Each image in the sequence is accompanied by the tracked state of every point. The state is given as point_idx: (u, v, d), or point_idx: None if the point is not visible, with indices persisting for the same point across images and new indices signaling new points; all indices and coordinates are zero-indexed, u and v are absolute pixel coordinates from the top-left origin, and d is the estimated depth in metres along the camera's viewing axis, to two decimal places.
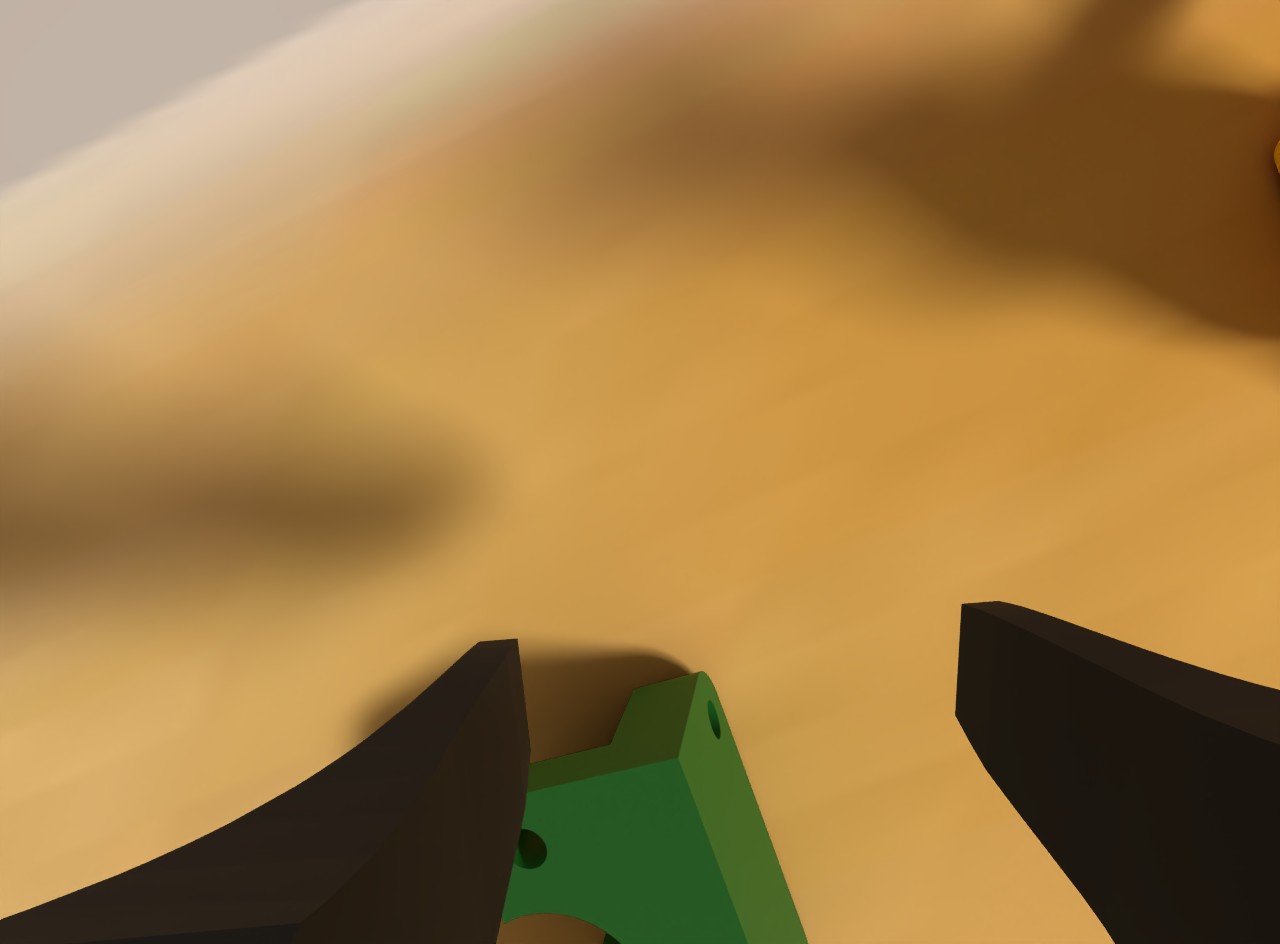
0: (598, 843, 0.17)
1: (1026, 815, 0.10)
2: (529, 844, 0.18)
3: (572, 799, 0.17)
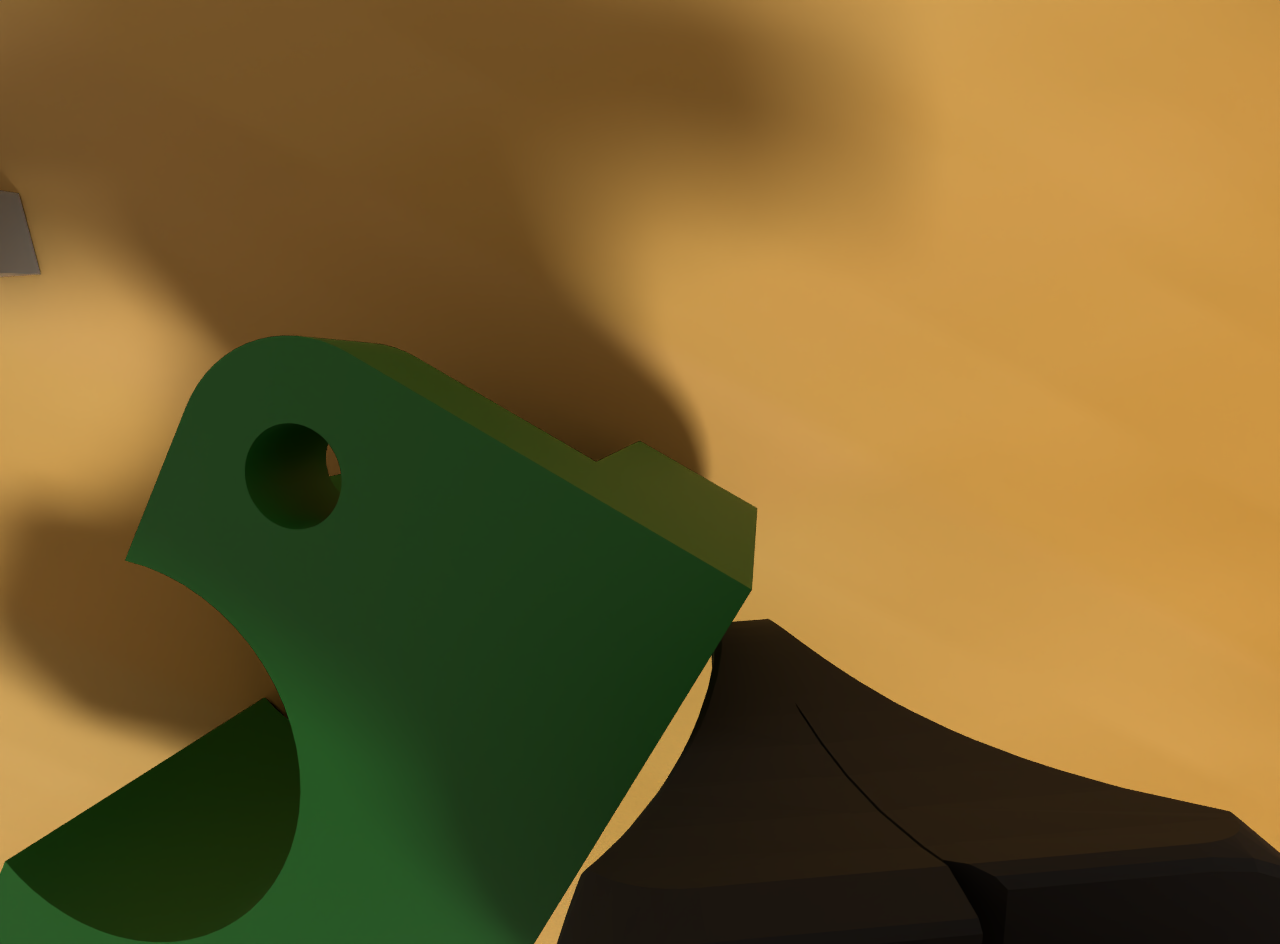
0: (436, 589, 0.07)
1: None
2: (297, 481, 0.08)
3: (471, 474, 0.07)
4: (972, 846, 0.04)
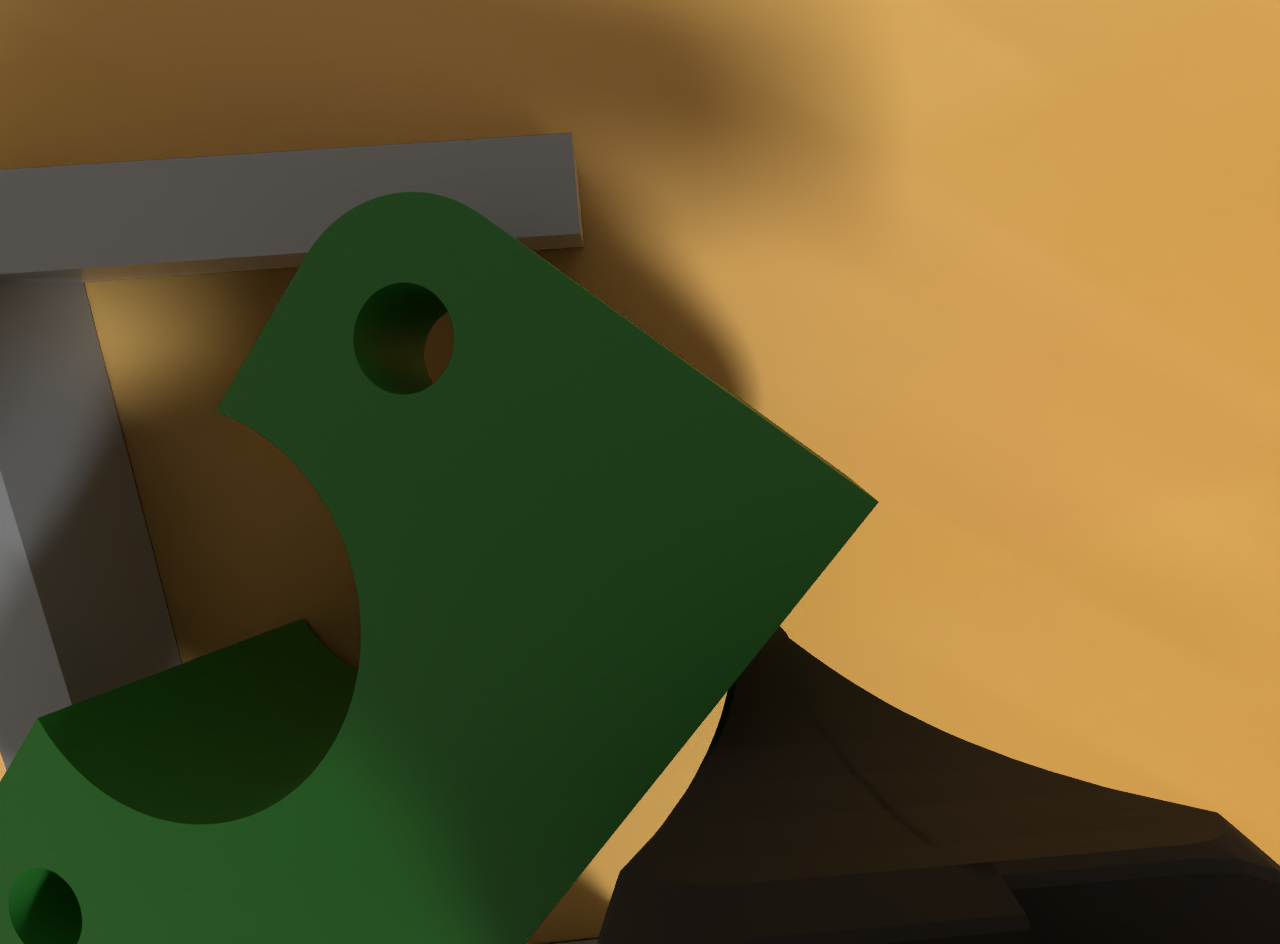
0: (536, 472, 0.07)
1: None
2: (398, 359, 0.08)
3: (591, 352, 0.07)
4: (960, 849, 0.04)
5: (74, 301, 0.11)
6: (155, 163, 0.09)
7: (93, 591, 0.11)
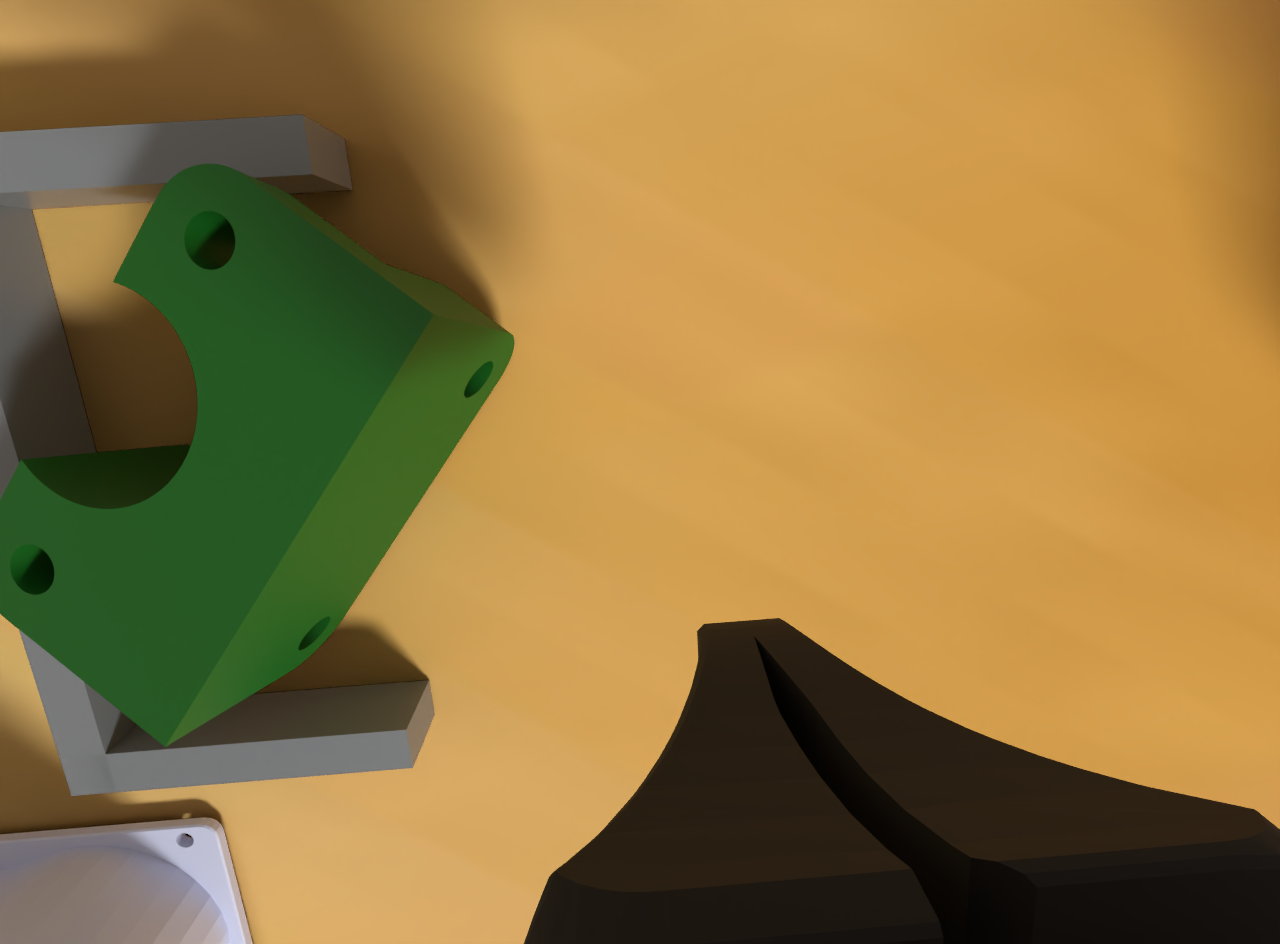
0: (279, 307, 0.14)
1: None
2: (215, 255, 0.15)
3: (302, 245, 0.13)
4: (1000, 845, 0.04)
5: (25, 221, 0.17)
6: (61, 130, 0.15)
7: (35, 402, 0.17)
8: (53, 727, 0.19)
